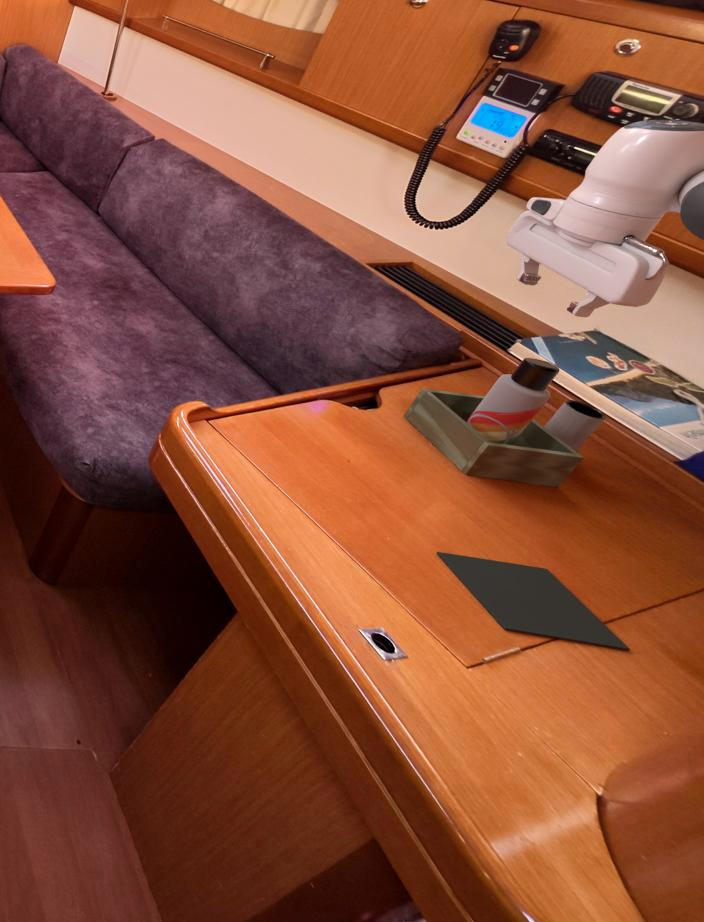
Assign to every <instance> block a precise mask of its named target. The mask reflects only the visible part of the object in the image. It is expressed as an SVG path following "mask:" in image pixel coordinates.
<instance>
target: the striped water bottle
mask: <svg viewBox="0 0 704 922" xmlns="http://www.w3.org/2000/svg"><path fill="white" fill-rule="evenodd" d="M559 373H560V368H559V366H557V365H556V364H554V363H552V362H549V361H546V360H542V359H538V358H532V357H524V358H523V359H522V361H521V362H520V363H519V365H518V366H517V367H516V369H515V370H514V371H513V373H512V374H511V373H507V374H506V373H505V374H501V375H500V377H498V378H497V380H496V381H495V383H494V384H493V385H492V387H491V388H490V389H489V391H488V392H487V393H486V394H485V395H484V396H485V397H484V399H483V400H482V401H481V403H480V404H479V405H478V407H477V408H476V409H475V411H474V412H473V413H472V415H471V416H470V418H469V419H468V420H467V422H466V423H467V424H469V425H470V426H471V427H472V428H473V429H474V430H476V431H477V432H478V433H479V434H480V435H481V436H483V437H484V438H485V439H486V440H487V441H488V442H491V443H498V444H506V445H512V444H513V443H514V441H515V440H516V439H517V438H518V436H519V435H520V434H521V433H522V431H523V430H524V429H525V428H526V427H527V425H528V424H529V423H530V422H531V420H532V419H534V418H535V417H536V416H537V414H538V413H539V411H541V409H542V408H543V407H544V406H545V404H546V403H547V402H548V400H549V399H550V398H551V395H552V394H551V392H550V390H548V389H547V388H548V387H549V385H550V384H551V383H552V382H553V380H554V379H555V378H556V377H557V375H558V374H559Z"/></svg>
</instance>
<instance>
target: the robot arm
mask: <svg viewBox="0 0 704 922" xmlns="http://www.w3.org/2000/svg"><path fill="white" fill-rule="evenodd" d="M525 206H526V207H525V208H526V209H527V210H525V211H523V212H522V213H520V215H518V217H517V219H516V220H515V222H514V223H513V225H512V226H511V228H510V230H509V231H508V232H507V235H506V244H507V246H508V247H510V248H512V249H514V250H515V251H517V252H519V253H521V254H522V256H521V258H520V262H519V263H520V272H519V274H518V275H517V277H516V281H518V282H520V283H521V284H523V285H525V286H536V285H537V284H538V283H539V281H541V279H542V276H541V275H539V269H540V265H542V266H544V267H545V268H547V269H549V270H551V271H553V272H554V273H556V274H557V275H560V276H561V277H563V278H565V279H566V280H568V281H570V282H572V283H574V284H576V285H577V286H579V287H581V288H582V289H584V290H585V291H587V292H586V293H585V295H584V297H585V298H586V299H584V300H582V301H579V302H578V301H571V302H570V303H569V306H568V307H567V308H566V311H567V312H568V313H570V314H572V315H573V316H575V317H577V318H588V317H590V316H591V315H592V314H593V312H594V311H595V310H596V309H600V308H601V307H604V306H607V305H609V304H612V305H615V306H623V307H632V308H639V307H643V306H646V305H648V304H649V303H650V302H651V301H652V300H653V298H654V297H655V295H656V293H657V292H658V290H659V288H660V286H661V285H662V282H663V280H664V278H665V276H666V273H667V269H668V268H669V265H670V261H669V260H668V257H667V256H666V254H665V253H666V252H665V251H664V249H662V248H660V247H658V246H655V245H652V244H650V243H648V242H646V241H647V239H648V238H649V236H650V235H651V233H653V231H654V229H655V228H656V227H657V226H658V224H659V222H661V220H662V218H663V217H664V216H665V215H666V214H667V213H679V216H680V220H681V222H682V224H683V225H684V228H686V230H687V231H689V233H691V234H692V235H693V236H695V237H697V238H698V239H700V240H702V241H704V123H702V122H695V121H689V120H676V119H649V120H639V121H636V122H632V123H629V124H627V125H624V126H623V127H621V128H619V129H618V130H617V131H615V133H613V134H612V135H611V136H610V137H609V138H608V139H607V141H606V142H605V143H604V144H603V145H602V146H601V148H600V149H599V150H598V151H597V153H596V154H595V156H594V157H593V158H592V160H591V162H590V163H589V165H588V166H587V167H586V169H585V173H584V178H583V180H582V182H581V184H579V186H577V187H575V189H573V190H572V191H571V192H570V193H569V195H568V196H567V198H554V197H553V198H551V197H535V196H534V197H531V198H530V199H529V200H528V201H527V203H526V205H525Z"/></svg>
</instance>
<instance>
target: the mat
mask: <svg viewBox="0 0 704 922" xmlns="http://www.w3.org/2000/svg"><path fill="white" fill-rule="evenodd" d="M436 555H437V556H438V557H439V558H440V560H441V561H442V562H443V563H444V564H445V565H446V566H447V567H448V568H449V570H451V572H452V573H453V574H454V575H455V576H456V577H457V579H459V581H460V582H461V583H462V584H463V585H464V586H465V588H466V589H467V590H468V591H469V592H470V594H472V595H473V596H474V598H475V599H476V600H477V601H478V603H480V604H481V605H482V606H483V608H484V609H485V610H486V611H487V612H488V613H489V614H490V616H491V617H492V618H493V619H494V620H495V622H497V623H498V625H499V626H500V627H501V628H502V629H503V630H504V631H508V632H516V633H521V634H526V635H532V636H538V637H545V638H550V639H557V640H562V641H567V642H574V643H580V644H584V645H585V644H586V645H590V646H597V647H603V648H609V649H616V650H622V651H627V652H628V651H630V650H631V648H630V647H629V646H628V645H627V644H625V642H624V641H623V640H622V639H620V638H619V636H617V635H616V633H614V632H613V630H612V629H610V628H609V627H608V625H606V624H605V623H604V622H603V621H602V620H601V619H600V618H599V617H598V616H597V615H596V614H595V613H594V612H592V610H590V609H589V607H587V606H586V605H585V604H584V603H583V602H582V601H581V600H580V599H579V598H578V597H577V596H576V595H575V594H574V593H573V592H572V591H571V590H570V589H569V588H568V587H567V586H566V585H564V584H563V582H562V581H560V580H559V579H558V578H557V577H556V575H554V574H553V573H552V572H551V571H550V570H549V569H548V568H546V567H545V568H544V567H538V566H531V565H525V564H519V563H513V562H506V561H500V560H493V559H487V558H482V557H481V558H480V557H475V556H474V557H473V556H468V555H460V554H455V553H448V552H441V551H437V552H436Z"/></svg>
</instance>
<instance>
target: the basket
mask: <svg viewBox="0 0 704 922" xmlns="http://www.w3.org/2000/svg"><path fill="white" fill-rule="evenodd" d="M485 396H486V395H478V394H471V393H464V392H463V393H462V392H455V391H446V390H440V389H439V390H438V389H429V388H421V390H420V391H419V392H418V394H417V395H416V397H415V398H414V399H413V401H412V403H411V404H410V405H409V407H408V409H407V410H406V411H405V413H404V414H403V418H404V419H405V420H406V421H407V422H408V423H410V424H411V425H412V426H413V427H414V428H415V429H416V430H417V431H418V432H419V433H420V434H421V435H422V436H424V437H425V438H426V439H427V440H428V442H430V444H432V445H433V446H434V447H435V448H436V449H437V450H438V451H440V453H441V454H442V455H443V456H444V457H446V458H447V459H448V460H449V461H450V462H451V463H452V464H453V465H454V466H455V467H457V469H459V470H460V471H461V473H463V474H464V475H466V476H473V477H481V478H486V479H493V480H494V479H495V480H501V481H509V482H515V483H516V482H517V483H523V484H528V485H529V484H530V485H538V486H545V487H552V488H559V487H560V486H561V485H562V484H563V483H564V482H565V480H566V479H567V478H568V477H569V476H570V474H572V472H573V471H574V470H575V469H576V468H577V467H578V465H579V464H581V462H582V461H583V460H584V459H585V457H584V456H583V455H581V453H578V451H577V452H576V451H575V450H573V449H572V448H571V447H569V446H568V445H567V444H565V443H564V442H563V441H561V440H560V439H559V438H558V437H556V436H555V435H554V434H552V433H551V432H550V431H548V430H547V429H546V428H544V426H543V424H540V423H539V422H538V421H537V420H535V419H534V418H533V419H532V420H531V422H530V423H529V424H528V425H527V427H526V428H525V429H524V430H523V431H522V433H521V434H520V435H519V436H518V438H517V439H516V440H515V441H514V443H513V444H512V445H506V444H498V443H491V442H488V441H487V440H486V439H485V438H484V437H483V436H481V435H480V434H479V433H478V432H477V431H476V430H474V429H473V428H472V427H471V426H470V425H469V424H467V423H466V422H467V420H468V419H469V418H470V416H471V415H472V413H473V412H474V411H475V409H476V408H477V407H478V405H479V404H480V403H481V401H482V400H483V399H484V397H485Z"/></svg>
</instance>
